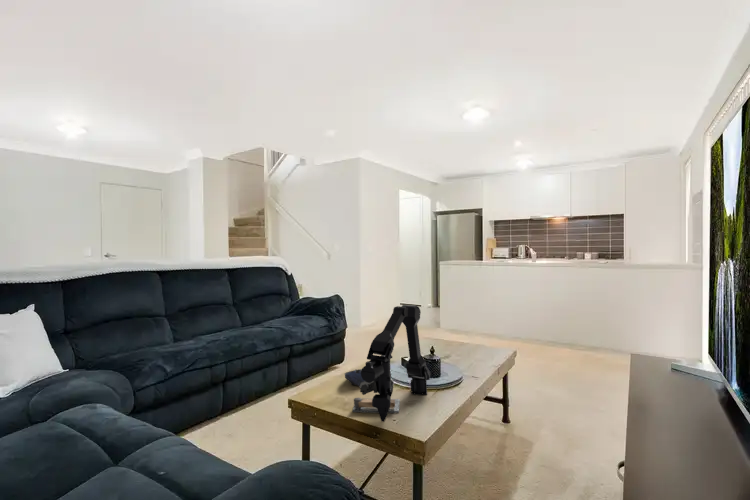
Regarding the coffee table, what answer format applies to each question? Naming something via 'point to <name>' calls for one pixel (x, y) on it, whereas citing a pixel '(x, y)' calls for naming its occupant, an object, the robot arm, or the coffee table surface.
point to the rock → (354, 377)
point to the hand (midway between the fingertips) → (384, 415)
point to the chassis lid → (395, 410)
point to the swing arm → (368, 403)
